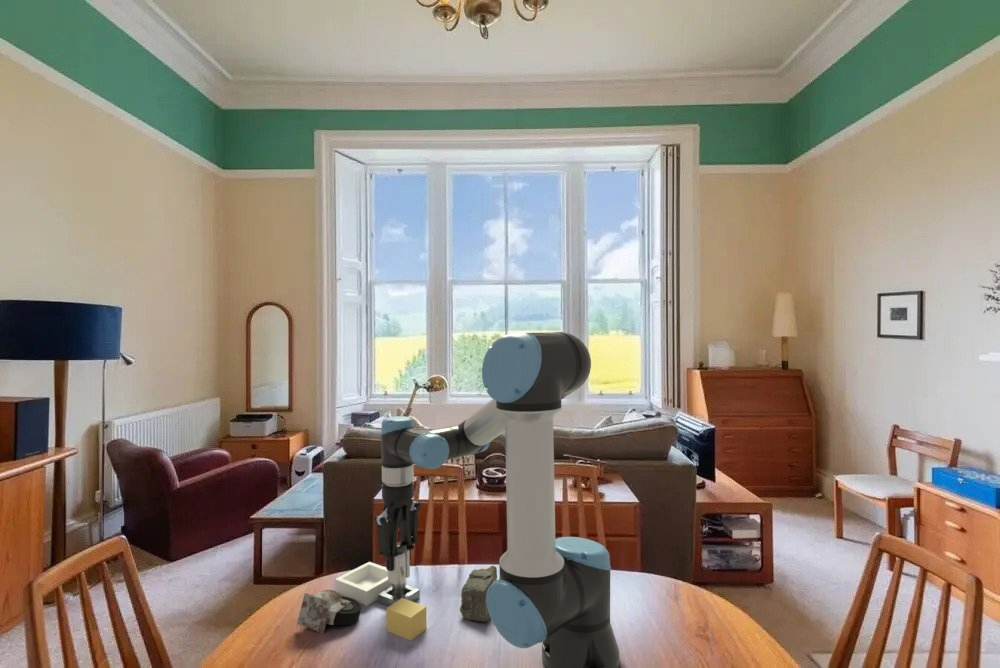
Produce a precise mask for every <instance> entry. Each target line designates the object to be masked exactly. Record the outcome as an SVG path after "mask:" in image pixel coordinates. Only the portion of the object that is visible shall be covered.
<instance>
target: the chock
mask: <svg viewBox="0 0 1000 668" xmlns="http://www.w3.org/2000/svg"><path fill="white" fill-rule="evenodd" d="M385 612H386V613H385V614H386V631H387V632H389V633H392V634H395V635H397V636H399V637H401V638H404V639H405V640H408V641H413V640H414V639H415V638H417V636H420V635H421V633H423V632H424V631H426V630H427V606H425V605H423V604H420V603H417V602H415V601H414V602H412V601H409V600H407V599H404V598H401V599H400V600H398V601H397V602H395V603H394V604H392V605H391V606H389V607H388V606H387V607H386V610H385Z"/></svg>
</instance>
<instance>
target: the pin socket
mask: <svg viewBox="0 0 1000 668" xmlns="http://www.w3.org/2000/svg"><path fill="white" fill-rule="evenodd" d="M420 590H421V589H420V588H416V587H414V586H412V585H408V584H406V594H405V595H404V596H402V597H401V598H404V599H407V600H409V601H412V602H415V601H417V600H418V599H420V596H421V594H420V592H421V591H420ZM401 598H397V597H394V596H392V586H391V587H389V588H387V589H386V590H384V591H382V592H380V593H379V594H378V600H377V603H378V604H381V605H384V606H386V607H387V608H388V607H389V606H391V605H392V604H394V603H395V602H397V601H398V600H400V599H401Z"/></svg>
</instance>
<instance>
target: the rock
mask: <svg viewBox="0 0 1000 668" xmlns="http://www.w3.org/2000/svg"><path fill="white" fill-rule="evenodd" d="M495 580H498V569H497V567H496V566H495V565H491V566H490V567H488V568H483V567H482V568H479V569H475V568H474V569H473V570H471V572H470V573H469V574H468V578H467V579H466V581H465V584H463V586H462V588H461V591H460V593H461V594H460V597H461V601H460V603H461V605H460V607H459V612H460V614H461V616H462V617H463V618H464V619H468V620H470V621H478V622H484V623H485V622H488V621H489V620H490V619H491V618H490V615H489V612H488V608H487V602H486V596H487V591H488V588H489V587H490V586H491V584H492V583H493V582H494V581H495Z"/></svg>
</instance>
